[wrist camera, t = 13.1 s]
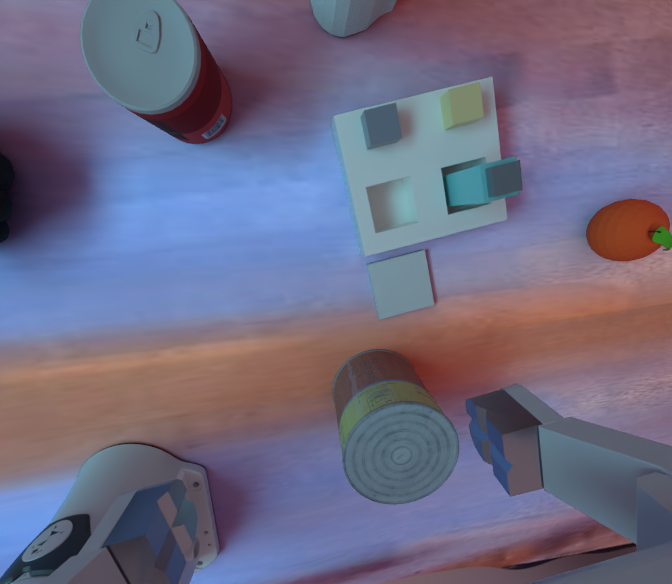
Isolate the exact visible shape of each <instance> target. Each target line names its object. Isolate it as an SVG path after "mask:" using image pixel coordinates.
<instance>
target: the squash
mask: <svg viewBox="0 0 672 584" xmlns="http://www.w3.org/2000/svg"><path fill="white" fill-rule="evenodd" d="M14 174H15V173H14V170H13V166H12V164H11V162H10V161H9V160H8V159H7V158H6V157H5V156H4V155H3V154H1V153H0V242H2V241H4V240H5V239H6V238H7V237H8V235H9V226H8V224H7V222H6V221H5V219H6V218H8V217H9V216H10V215H11V213H12V211H13V204H12V202H11V200H10V199H9V198H8V197H7V196H6V195H5V194H4V193H2V192H1V191H3V190H5V189H7V188H8V187H9V186H10V184H11V183H12V181H13V179H14Z"/></svg>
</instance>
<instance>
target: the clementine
mask: <svg viewBox="0 0 672 584" xmlns="http://www.w3.org/2000/svg"><path fill="white" fill-rule="evenodd" d="M669 228H670V223H669V218H668V216H667V214H666V213H665V212H664V211H663V210H662V209H661V208H660V207H659V206H658V205H655V204H653V203H651V202H649V201H646V200H637V199H628V200H623V201H617V202H614V203H612V204H610V205H608V206H606V207H604V208H602V209H601V210H600V211H598V212H597V213H596V214H595V216H594V217H593V218H592V219H591V220H590V222H589V224H588V227H587V231H586V237H587V241H588V244H589V245H590V247H591V249H592V250H593V251H594V252H596V253H597V254H598V255H600V256H601V257H604V258H606V259H609V260H613V261H631V260H636V259H640V258H643V257H645V256H648V255H650V254H651V253H653V252H654V251H656V250H657V249H658V248H660V247H661V245H662V246H664V247H667V249H664V250H666V251H668V250H670V248H671V247H672V235H671V234H670V232H669Z"/></svg>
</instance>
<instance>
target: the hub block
mask: <svg viewBox="0 0 672 584" xmlns="http://www.w3.org/2000/svg"><path fill="white" fill-rule="evenodd" d="M331 128H332V133H333V137H334V141H335V146H336V150H337V155H338V159H339V163H340V168H341V172H342V177H343V181H344V185H345V190H346V194H347V199H348V203H349V207H350V212H351V216H352V221H353V225H354V229H355V234H356V238H357V243H358V247H359V251H360V253H361V254H362V255H364V256H365V257H366V256H370V255H373V254H377V253H381V252H385V251H389V250H393V249H396V248H400V247H404V246H408V245H412V244H416V243H420V242H423V241H427V240H431V239H435V238H439V237H443V236H447V235H450V234H454V233H458V232H462V231H466V230H470V229H473V228H477V227H481V226H485V225H489V224H493V223H497V222H500V221H504V220H507V211H506V201H505V198H503V199H499V200H495V201H491V202H487V203H481V204H468V205H456V206H447V205H446V198H445V191H444V185H443V178H442V176H445V175H449V174H452V173H455V172H459V171H462V170H465V169H469V168H472V167H475V166H478V165H482V164H486V163H490V162H494V161H498V160H501V153H500V144H499V134H498V124H497V115H496V105H495V96H494V86H493V77H488V78H484V79H480V80H476V81H472V82H468V83H464V84H460V85H456V86H452V87H448V88H444V89H440V90H436V91H432V92H427V93H423V94H419V95H415V96H411V97H407V98H403V99H399V100H395V101H391V102H387V103H383V104H379V105H375V106H371V107H366V108H362V109H358V110H354V111H350V112H346V113H342V114H338V115H334V116H333V120H332V124H331Z"/></svg>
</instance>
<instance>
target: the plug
mask: <svg viewBox="0 0 672 584" xmlns="http://www.w3.org/2000/svg"><path fill="white" fill-rule="evenodd" d="M442 178H443V185H444V191H445V198H446V205H447V206H456V205H468V204H481V203H487V202H491V201H495V200H499V199H503V198H507V197H511V196H515V195H519V191H520V190H522V180H521V168H520V160H518V161H517V160H516V156H514V157H510V158H506V159H502V160H498V161H494V162H490V163H486V164H482V165H478V166H475V167H472V168H469V169H465V170H462V171H459V172H455V173H452V174H449V175H445V176H442Z"/></svg>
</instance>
